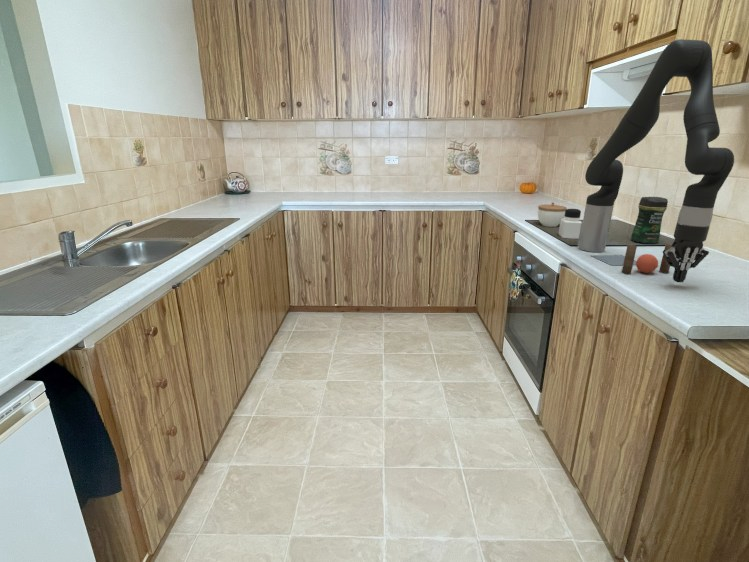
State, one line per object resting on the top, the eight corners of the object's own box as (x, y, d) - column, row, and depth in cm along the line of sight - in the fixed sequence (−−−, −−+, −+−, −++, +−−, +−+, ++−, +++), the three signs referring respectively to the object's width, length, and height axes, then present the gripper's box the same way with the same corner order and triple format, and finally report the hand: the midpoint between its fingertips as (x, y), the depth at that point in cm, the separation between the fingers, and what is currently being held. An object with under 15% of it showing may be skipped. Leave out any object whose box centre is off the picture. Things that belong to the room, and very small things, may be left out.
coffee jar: (638, 244, 173) (648, 198, 167) (627, 239, 180) (636, 195, 174) (662, 244, 173) (673, 198, 167) (650, 239, 180) (660, 195, 174)
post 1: (619, 271, 137) (625, 244, 134) (627, 271, 137) (633, 244, 134) (625, 274, 134) (631, 246, 131) (632, 274, 135) (638, 246, 132)
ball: (631, 255, 138) (644, 253, 132) (648, 254, 139) (662, 253, 133) (631, 273, 138) (645, 272, 132) (648, 273, 139) (663, 272, 133)
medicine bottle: (579, 239, 180) (584, 210, 176) (562, 238, 181) (566, 210, 177) (575, 235, 187) (579, 208, 183) (558, 234, 188) (562, 207, 184)
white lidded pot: (530, 223, 212) (533, 200, 208) (553, 222, 214) (557, 200, 210) (544, 228, 200) (548, 204, 196) (569, 227, 202) (573, 204, 198)
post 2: (657, 270, 138) (663, 244, 135) (664, 270, 139) (671, 243, 136) (663, 273, 136) (669, 246, 133) (670, 273, 136) (677, 245, 133)
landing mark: (590, 255, 155) (590, 255, 155) (621, 255, 156) (621, 254, 156) (611, 265, 143) (611, 265, 143) (644, 264, 145) (644, 264, 145)
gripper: (703, 219, 122) (688, 276, 128) (661, 220, 121) (647, 277, 127) (726, 225, 115) (709, 285, 121) (682, 225, 114) (667, 286, 120)
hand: (678, 281), depth 124 cm, fingers closed
